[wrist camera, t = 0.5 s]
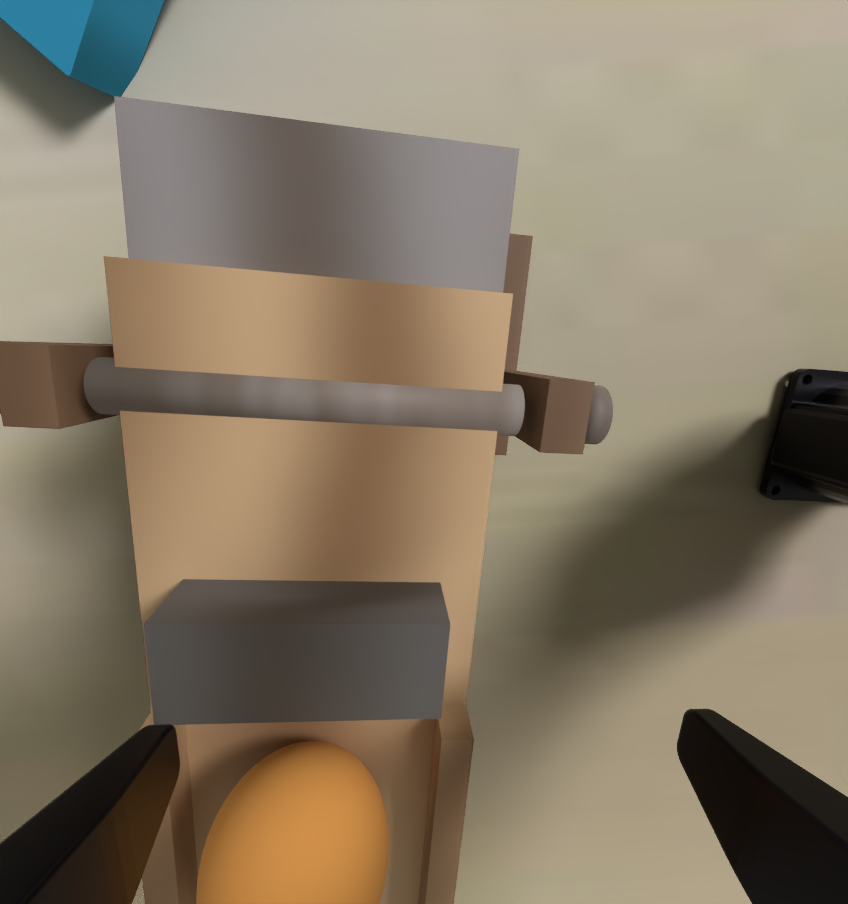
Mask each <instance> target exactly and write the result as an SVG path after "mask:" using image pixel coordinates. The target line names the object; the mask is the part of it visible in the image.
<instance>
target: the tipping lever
mask: <svg viewBox="0 0 848 904" xmlns="http://www.w3.org/2000/svg"><path fill="white" fill-rule="evenodd" d="M114 101H115V112H116V123H117V134H118V145H119V156H120V167H121V179H122V190H123V201H124V212H125V223H126V234H127V245H128V256H129V259H128V258H117V257H106V256H104V264H105V274H106V284H107V293H108V303H109V313H110V322H111V332H112V342H113V351H114V358H110V357H97V358H95V359H93V360H92V361H91V362H90V363H89V365H88V366H87V368H86V371H85V374H84V392H85V396H86V399H87V401H88V403H89V405H90V406H91V407H92V408H93V409H94V410H95V411H96V412H98V413H100V414H109V415H120V419H121V428H122V438H123V448H124V457H125V467H126V477H127V486H128V496H129V505H130V515H131V525H132V534H133V544H134V554H135V563H136V573H137V583H138V592H139V602H140V612H141V621H142V631H143V640H144V650H145V660H146V669H147V679H148V689H149V698H150V708H151V712H150V714H149V715H148V717H147V719H146V720H145V722H144V723H143V725H142V726H141V728H140V729H139V730H141V729H142V728H144V727H145V726H148V725H158V724H171V725H173V726H174V727H175V729H176V733H177V741H178V749H179V757H180V771H179V776H178V780H177V783H176V785H175V788H174V791H173V794H172V796H171V799H170V802H169V805H168V807H167V810H166V813H165V815H164V818H163V821H162V824H161V826H160V829H159V832H158V835H157V837H156V840H155V843H154V845H153V848H152V851H151V854H150V856H149V859H148V862H147V865H146V867H145V870H144V873H143V875H142V881H143V889H144V897H145V904H196V893H197V879H198V873H199V867H200V862H201V857H202V852H203V849H204V846H205V843H206V839H207V837H208V834H209V832H210V829H211V827H212V824H213V822H214V820H215V817H216V815H217V814H218V812H219V810H220V808H221V807H222V805H223V803H224V801H225V800H226V798H227V796H228V795H229V794H230V792H231V791H232V790H233V788H234V787H235V786H236V784H237V783H238V782H239V781H240V779H241V778H242V777H243V776H244V775H245V774H246V773H247V772H248V771H249V770H250V769H251V768H252V767H253V766H254V765H256V764H257V763H258V762H260V761H261V760H262V759H264V758H265V757H266V756H268V755H269V754H271V753H273V752H275V751H277V750H279V749H281V748H283V747H286V746H288V745H291V744H295V743H299V742H307V741H320V742H326V743H331V744H334V745H337V746H340V747H342V748H343V749H345V750H347V751H348V752H350V753H351V754H353V755H354V756H355V757H356V758H357V759H359V760H360V761H361V762H362V764H363V765H364V766H365V767H366V768H367V770H368V771H369V772H370V774H371V775H372V777H373V779H374V781H375V782H376V784H377V786H378V789H379V791H380V794H381V796H382V799H383V802H384V806H385V811H386V816H387V821H388V830H389V860H388V866H387V873H386V879H385V884H384V888H383V892H382V896H381V899H380V902H379V904H454V896H455V888H456V879H457V871H458V863H459V855H460V847H461V839H462V831H463V823H464V815H465V806H466V798H467V790H468V782H469V774H470V766H471V758H472V750H473V741H474V739H473V734H472V730H471V725H470V721H469V717H468V712H467V708H466V700H467V692H468V683H469V674H470V666H471V657H472V648H473V640H474V631H475V622H476V613H477V605H478V596H479V587H480V579H481V570H482V561H483V552H484V544H485V535H486V526H487V518H488V509H489V500H490V491H491V483H492V474H493V465H494V457H495V448H496V439H497V435H507V436H516V435H517V434H518V433H519V431H520V429H521V426H522V423H523V418H524V411H525V399H524V392H523V389H522V387H521V386H520V385H515V384H503V378H504V370H505V361H506V352H507V343H508V335H509V326H510V317H511V309H512V300H513V294H511V293H503V290H504V281H505V272H506V263H507V254H508V244H509V235H510V226H511V217H512V208H513V199H514V190H515V180H516V171H517V162H518V153H519V149H515V148H507V147H499V146H492V145H484V144H476V143H469V142H461V141H454V140H446V139H438V138H431V137H423V136H415V135H408V134H400V133H392V132H385V131H377V130H369V129H362V128H354V127H346V126H339V125H331V124H323V123H316V122H308V121H300V120H293V119H285V118H277V117H270V116H262V115H255V114H247V113H239V112H232V111H224V110H216V109H209V108H201V107H193V106H186V105H178V104H170V103H163V102H155V101H147V100H140V99H132V98H124V97H117V96H114Z"/></svg>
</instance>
